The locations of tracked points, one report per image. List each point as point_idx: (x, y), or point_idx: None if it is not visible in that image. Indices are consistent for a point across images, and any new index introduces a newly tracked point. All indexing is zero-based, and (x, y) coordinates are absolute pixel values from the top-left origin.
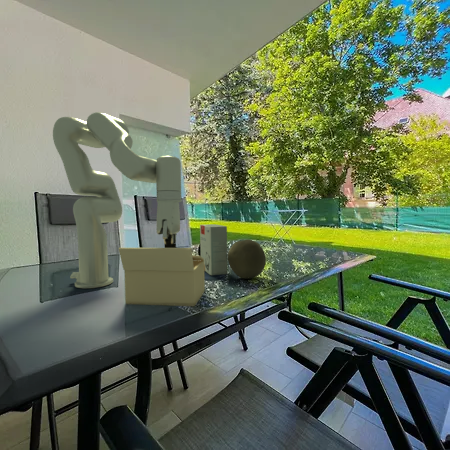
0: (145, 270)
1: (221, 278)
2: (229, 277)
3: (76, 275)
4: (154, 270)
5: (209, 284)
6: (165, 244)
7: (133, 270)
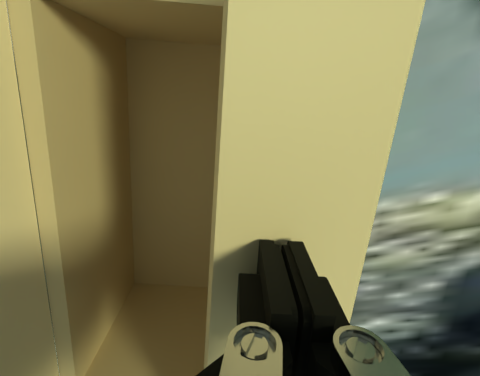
0: (32, 142)
1: (465, 333)
2: (473, 358)
3: None
4: (40, 203)
5: (380, 300)
6: (267, 320)
7: (19, 47)
